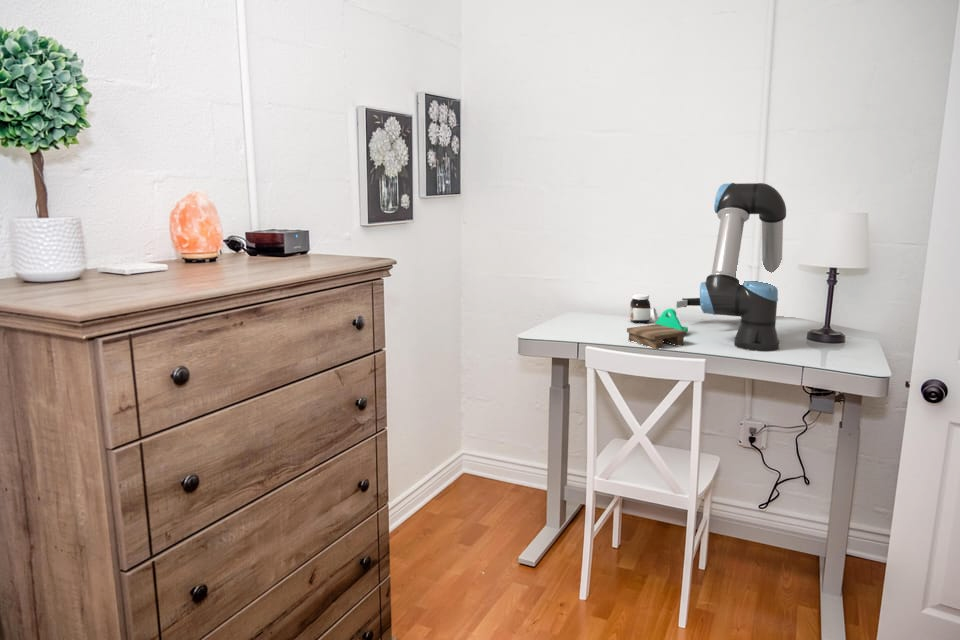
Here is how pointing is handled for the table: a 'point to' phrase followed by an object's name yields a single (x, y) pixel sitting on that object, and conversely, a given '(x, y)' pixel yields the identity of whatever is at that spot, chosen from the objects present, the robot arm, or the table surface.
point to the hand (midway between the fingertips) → (689, 307)
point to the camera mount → (670, 320)
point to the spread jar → (641, 309)
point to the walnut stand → (656, 335)
